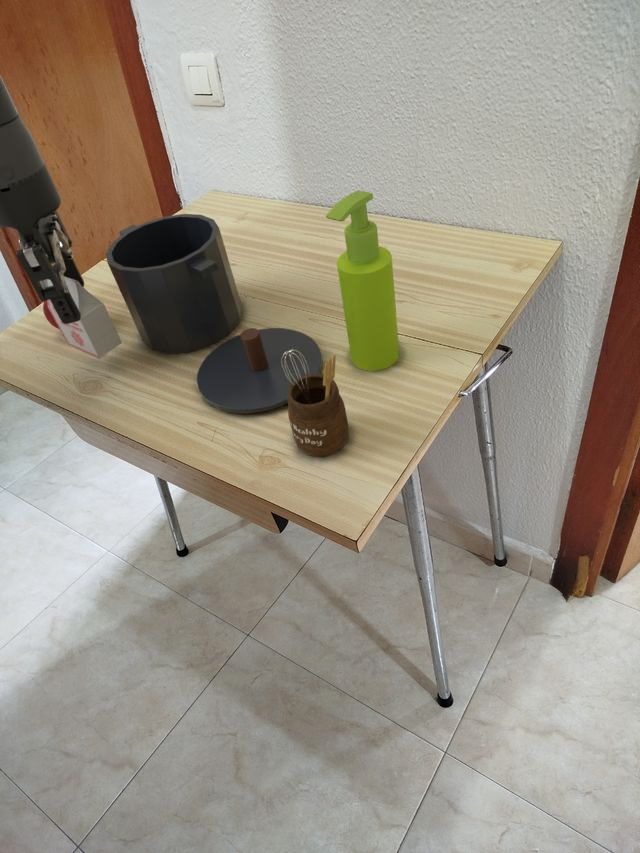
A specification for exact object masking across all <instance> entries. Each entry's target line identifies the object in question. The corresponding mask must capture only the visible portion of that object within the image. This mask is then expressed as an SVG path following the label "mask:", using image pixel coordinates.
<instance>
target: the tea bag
mask: <svg viewBox="0 0 640 853" xmlns="http://www.w3.org/2000/svg"><path fill="white" fill-rule="evenodd" d="M64 279H65V282H66V285H67V286H68V290H69V292H70V294H71V296H72V298H73V300H74V302H75V304H76V306H77V308H78V310H79V312H80V314H81V319H80V320H79V321H77V322H73V323H69V324H64V323H62V321H61V319H60V317H59V316H58V314H57V312H56V310H55V308H54V306H53V305H52V303H51V301H50V300H47V305H48V308H49V310H50V312H51V314H52V316H53V318H54V319H55V321H56V323H57V325H58V327H59V329H58V330H59V331H60V332H61V334H62V336H63V338H64V340H65V341H66V343H67V345H68V346H69V347H71V348H74V349H76V350H79V351H81V352H84V353H86V354H88V355H90V356H92V357H95V358H97V359H98V360H99V359H101V358H103V357H105V356H106V355H107V354H108V353H110V352H111V351H112V350H114V349H115V348H117V347H118V346H119V345H121V344H123V342H122V340H121V338H120V336H119V333H118V331H117V329H116V326H115V325H114V323H113V320H112V318H111V316H110V314H109V312H108V310H107V307H106V305H105V304H104V302H103V301H101V300H100V299H99V298H97V297H96V296H94V295H93V294H92V293H91V292H89V291H88V290H87V289H86V288H85V286H84V287H82V286H81V284H80V283H79V282H78V281H76V280H73V279H70V278H67V277H64ZM46 280H47V283H48V286H53V284H52V282H51V281H50V280H49V279H46Z"/></svg>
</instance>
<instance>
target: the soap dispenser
mask: <svg viewBox="0 0 640 853" xmlns="http://www.w3.org/2000/svg"><path fill="white" fill-rule="evenodd" d="M373 194H374V193H373V192H370V191H369V192H368V191H363V190H355V191H354V192H352V193H349V194H348V195H346V196H345V197H343V198H341V200H339V201H338V202H336V204H335V205H334V206H332V208H331V209H330V210H329V211H328V212H327V214H326V215H325V218H326V219H328V220H333V221H336V222H337V221H338V222H344V221H346V219H348V217H349V216H350V223H349V224H348V225H346V226H345V228H344V239H345V246H346V248H345V249H346V251H344V252H343V253H341V254H340V255H339V257H338V258H337V260H336V267H337V274H338V281H339V287H340V293H341V299H342V307H343V314H344V320H345V325H346V333H347V334H346V335H347V340H348V347H349V353H350V359H351V360H350V361H351V362H352V364H353V365H354V366H355V367H356V368H358V369H360V370H363V371H368V372H376V371H377V372H378V371H381V370H386V369H387V368H390V367H392V366H394V364H395V363H396V362H397V361H398V360H399V357H400V345H399V344H400V343H399V331H398V330H399V329H398V318H397V306H396V294H395V293H396V292H395V280H394V279H395V278H394V269H393V268H394V267H393V255H392V252H391V251H390V250H389V249H388V248H385V247H383V246H380V244H379V235H378V226H377V224H376V223H375V222H373V221H372V220H369V218H368V207H367V203H368V202H370V201H372V200H373V199H374V195H373Z"/></svg>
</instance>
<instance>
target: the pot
mask: <svg viewBox="0 0 640 853" xmlns="http://www.w3.org/2000/svg"><path fill="white" fill-rule="evenodd" d="M118 233H119V237H117V238H116V239H115V240H113V241H112V242H111V244H110V245H109V247H108V249H107V250H106V253H105V258H106V262H107V265H108V267H109V270H110V271H111V274H112V276H113V279H114V281H115V283H116V285H117V287H118V289H119V291H120V293H121V296H122V298H123V300H124V302H125V306H126V307H127V309H128V312H129V314H130V316H131V318H132V320H133V323H134V325H135V327H136V329H137V331H138V333H139V336H140V338H141V340H142V342H143V343H144V344H145V345H146V346H147V347H148V348H150V349H151V350H152V351H155V352H159V353H163V354H164V353H165V354H185V353H191V352H196V351H199V350H202V349H204V348H208V347H210V346H212V345H214V344H216V343H218V342H219V341H221V340H223V339H224V338H226V337H227V336H228V335H230V334H231V333H232V332H233V331H234V330H235V328H237V327H238V325H239V323H240V322H241V319H242V317H243V309H242V308H243V304H242V301H241V298H240V295H239V291H238V288H237V285H236V281H235V278H234V274H233V270H232V266H231V264H230V260H229V257H228V254H227V251H226V247H225V243H224V240H223V236H222V233H221V229H220V227H219V226H218V224H217V222H216V221H215V219H213V218H211V217H208V216H205V215H203V214H195V213H180V214H174V215H173V214H172V215H167V216H161V217H159V218H156V219H152V220H149V221H145V222H143V223H141V224H139V225H135V224H131V225H130V226H128V227H126V228H124V229H121V230H119V232H118Z"/></svg>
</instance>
